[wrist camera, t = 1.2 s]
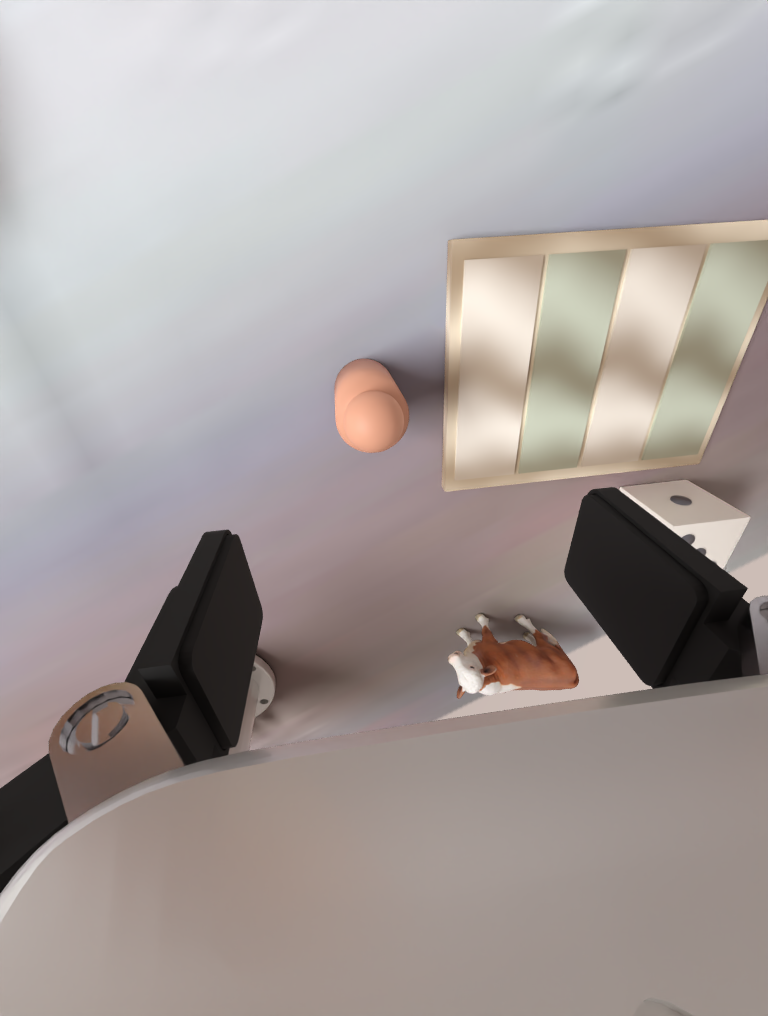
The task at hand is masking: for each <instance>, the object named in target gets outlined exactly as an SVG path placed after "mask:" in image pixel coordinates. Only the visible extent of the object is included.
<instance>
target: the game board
mask: <svg viewBox="0 0 768 1016" xmlns="http://www.w3.org/2000/svg"><path fill="white" fill-rule="evenodd" d="M767 298H768V220H756V221H740V222H724V223H708V224H692V225H676V226H660V227H644V228H628V229H612V230H596V231H580V232H564V233H548V234H533V235H517V236H501V237H485V238H469V239H453V240H449V241H448V261H447V301H446V341H445V381H444V421H443V461H442V487H443V489H444V491H445V492H448V491H457V490H466V489H475V488H484V487H493V486H503V485H512V484H521V483H530V482H539V481H548V480H557V479H566V478H575V477H584V476H594V475H603V474H612V473H621V472H630V471H639V470H648V469H657V468H666V467H675V466H684V465H694V464H699V463H700V461H701V458H702V456H703V453H704V451H705V448H706V446H707V444H708V441H709V439H710V436H711V434H712V431H713V429H714V427H715V424H716V422H717V419H718V417H719V414H720V412H721V410H722V407H723V405H724V402H725V400H726V398H727V395H728V393H729V390H730V388H731V385H732V383H733V381H734V378H735V376H736V373H737V371H738V368H739V366H740V364H741V361H742V359H743V356H744V354H745V351H746V349H747V347H748V344H749V342H750V339H751V337H752V334H753V332H754V330H755V327H756V325H757V322H758V320H759V317H760V315H761V313H762V310H763V308H764V305H765V303H766V300H767Z"/></svg>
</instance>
